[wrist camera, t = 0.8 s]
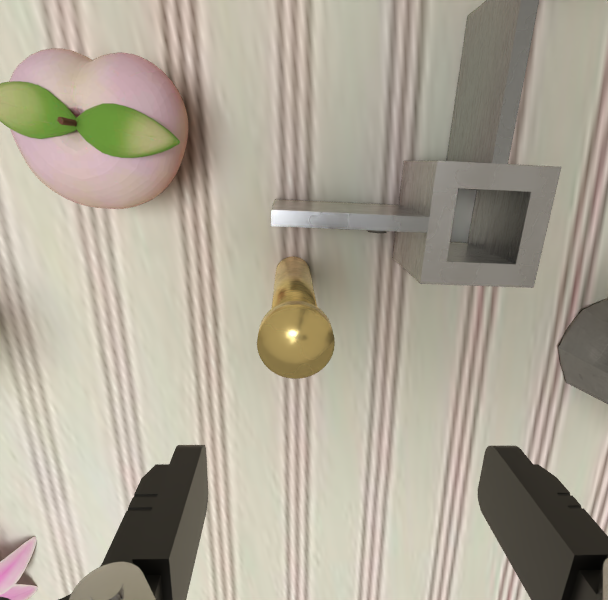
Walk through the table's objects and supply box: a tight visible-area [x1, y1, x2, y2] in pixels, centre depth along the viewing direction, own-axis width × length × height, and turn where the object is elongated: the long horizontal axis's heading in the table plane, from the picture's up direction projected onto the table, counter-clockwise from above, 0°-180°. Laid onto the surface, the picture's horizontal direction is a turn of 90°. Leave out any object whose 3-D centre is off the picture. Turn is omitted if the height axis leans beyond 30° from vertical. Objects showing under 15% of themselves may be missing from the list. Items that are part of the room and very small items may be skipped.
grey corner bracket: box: [271, 0, 561, 288], centre depth 26 cm, size 16×16×7 cm
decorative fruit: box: [0, 48, 188, 209], centre depth 24 cm, size 9×8×10 cm
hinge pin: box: [257, 257, 334, 379], centre depth 26 cm, size 4×4×13 cm
